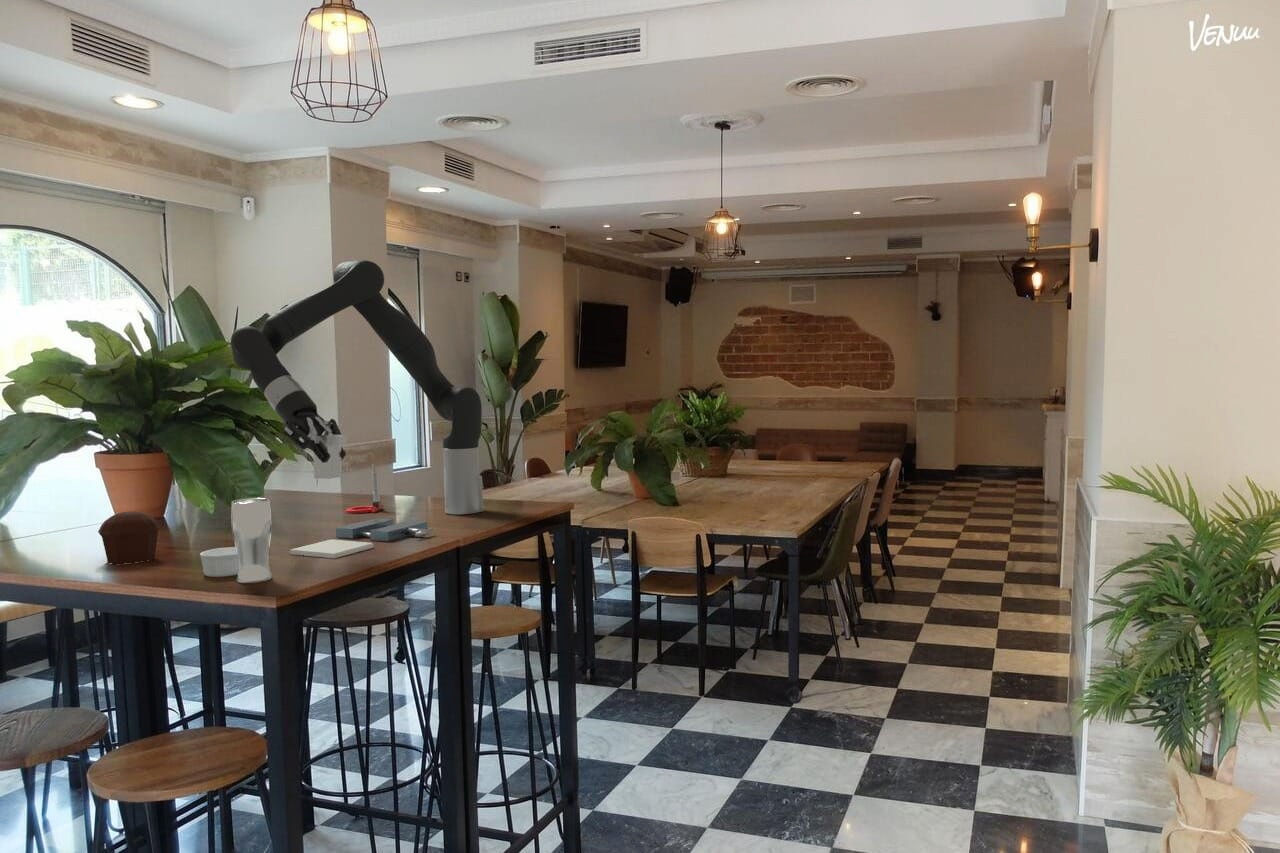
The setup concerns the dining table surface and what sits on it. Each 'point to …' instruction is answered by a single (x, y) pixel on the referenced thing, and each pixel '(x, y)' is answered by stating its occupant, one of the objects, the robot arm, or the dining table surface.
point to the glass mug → (335, 461)
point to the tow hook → (376, 501)
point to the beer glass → (252, 538)
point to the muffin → (129, 537)
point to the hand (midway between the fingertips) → (334, 458)
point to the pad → (331, 548)
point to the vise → (383, 529)
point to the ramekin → (220, 562)
